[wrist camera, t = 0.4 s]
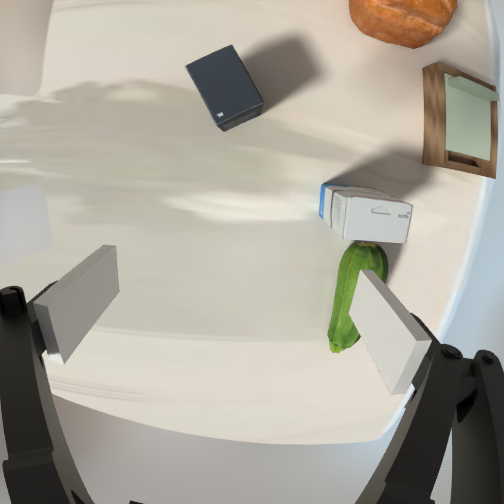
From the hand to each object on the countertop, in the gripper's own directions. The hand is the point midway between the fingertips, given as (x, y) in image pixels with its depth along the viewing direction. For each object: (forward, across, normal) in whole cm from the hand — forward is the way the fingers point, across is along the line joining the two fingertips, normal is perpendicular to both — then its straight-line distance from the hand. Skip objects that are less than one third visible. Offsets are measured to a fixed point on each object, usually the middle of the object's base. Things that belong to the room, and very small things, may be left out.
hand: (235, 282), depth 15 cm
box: (+28, -3, +13) cm, 31 cm away
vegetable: (+28, +18, -14) cm, 36 cm away
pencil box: (+28, +32, +18) cm, 46 cm away
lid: (+24, +32, +18) cm, 44 cm away
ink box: (+28, +15, +1) cm, 31 cm away
